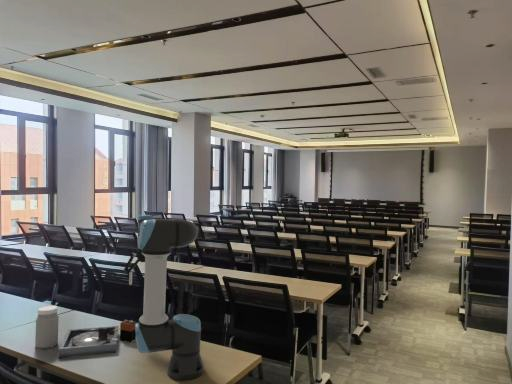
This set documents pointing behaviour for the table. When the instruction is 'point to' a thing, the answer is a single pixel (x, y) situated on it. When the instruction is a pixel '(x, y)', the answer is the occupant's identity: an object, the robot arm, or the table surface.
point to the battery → (127, 331)
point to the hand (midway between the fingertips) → (143, 284)
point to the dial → (92, 338)
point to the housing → (70, 351)
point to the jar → (46, 327)
